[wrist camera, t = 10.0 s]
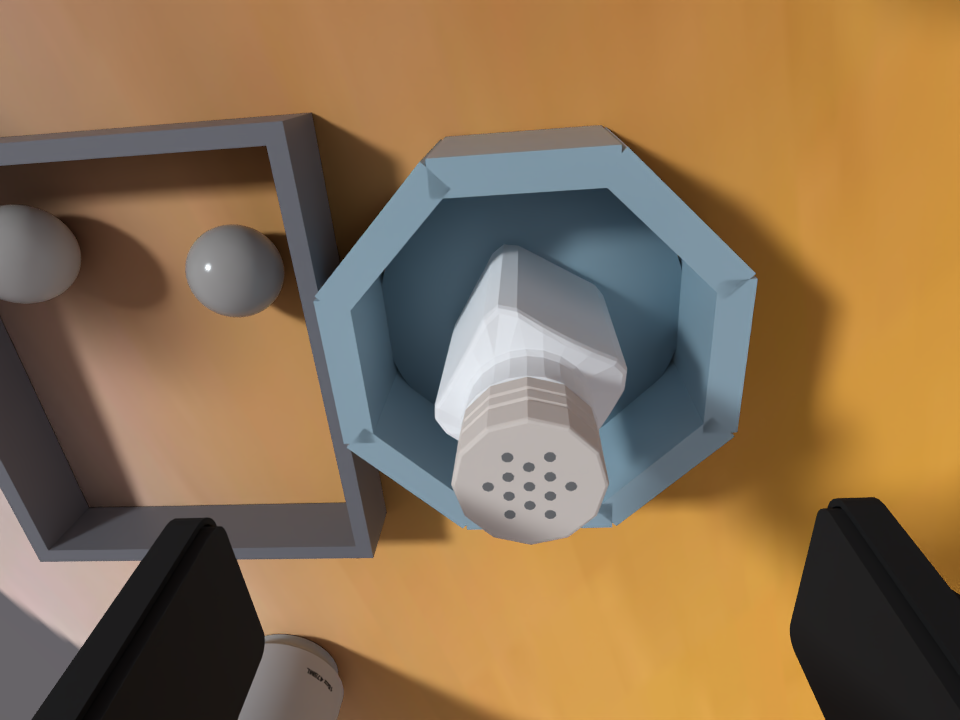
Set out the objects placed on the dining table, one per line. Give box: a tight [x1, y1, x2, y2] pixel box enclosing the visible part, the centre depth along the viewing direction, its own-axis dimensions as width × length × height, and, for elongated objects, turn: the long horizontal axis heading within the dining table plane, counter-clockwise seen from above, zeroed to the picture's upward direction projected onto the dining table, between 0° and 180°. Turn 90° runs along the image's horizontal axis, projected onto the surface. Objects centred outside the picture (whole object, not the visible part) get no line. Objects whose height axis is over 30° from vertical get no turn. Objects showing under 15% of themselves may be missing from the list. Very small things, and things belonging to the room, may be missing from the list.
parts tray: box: [0, 113, 387, 562], centre depth 22 cm, size 16×14×3 cm
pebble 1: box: [0, 205, 81, 304], centre depth 20 cm, size 3×3×3 cm
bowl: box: [313, 125, 758, 530], centre depth 19 cm, size 12×12×4 cm
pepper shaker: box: [435, 244, 627, 545], centre depth 17 cm, size 4×4×10 cm
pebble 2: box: [185, 225, 284, 317], centre depth 20 cm, size 3×3×3 cm
